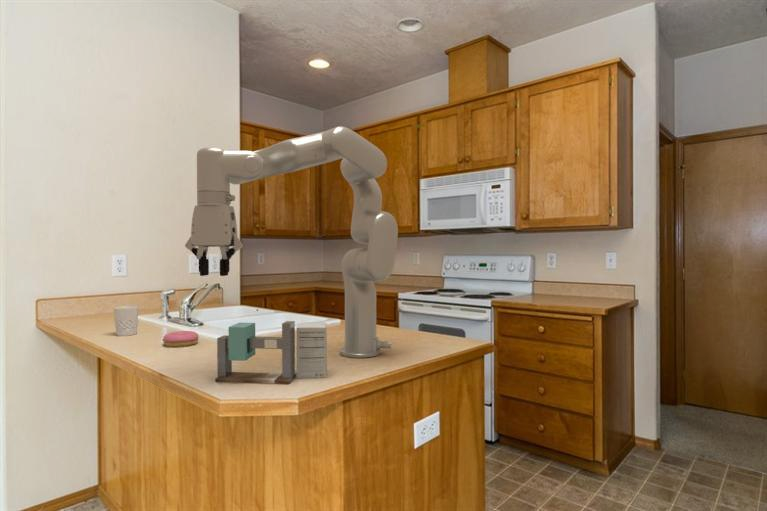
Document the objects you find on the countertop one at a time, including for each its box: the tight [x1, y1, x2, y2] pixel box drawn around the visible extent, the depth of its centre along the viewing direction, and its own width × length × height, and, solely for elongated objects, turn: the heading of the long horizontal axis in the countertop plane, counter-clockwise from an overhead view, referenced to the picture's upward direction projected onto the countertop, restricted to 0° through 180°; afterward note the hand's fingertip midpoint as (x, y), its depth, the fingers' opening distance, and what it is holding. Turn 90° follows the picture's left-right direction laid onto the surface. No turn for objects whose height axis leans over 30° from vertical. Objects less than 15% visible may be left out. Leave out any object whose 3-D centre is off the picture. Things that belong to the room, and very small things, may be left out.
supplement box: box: [296, 321, 328, 379], centre depth 119 cm, size 7×7×13 cm
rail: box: [216, 320, 296, 383], centre depth 114 cm, size 18×4×14 cm, turn 84°
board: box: [214, 371, 297, 385], centre depth 114 cm, size 18×6×1 cm, turn 84°
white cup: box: [113, 305, 139, 337], centre depth 173 cm, size 8×8×10 cm
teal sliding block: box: [228, 322, 256, 362], centre depth 114 cm, size 4×7×8 cm, turn 174°
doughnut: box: [162, 330, 200, 348], centre depth 155 cm, size 11×11×4 cm
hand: (214, 274), depth 115 cm, fingers open, 4 cm apart
